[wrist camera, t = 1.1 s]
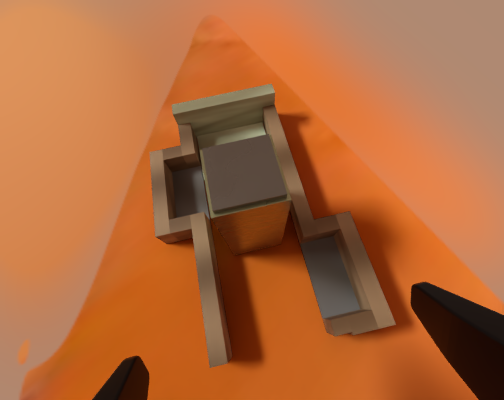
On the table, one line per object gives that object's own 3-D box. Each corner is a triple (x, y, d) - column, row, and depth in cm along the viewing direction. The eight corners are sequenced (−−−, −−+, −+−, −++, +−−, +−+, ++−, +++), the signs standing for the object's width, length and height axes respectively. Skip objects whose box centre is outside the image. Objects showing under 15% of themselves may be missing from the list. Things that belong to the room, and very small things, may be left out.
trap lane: (380, 322, 19) (407, 326, 15) (177, 372, 18) (155, 390, 15) (297, 107, 28) (301, 77, 24) (157, 137, 27) (140, 111, 23)
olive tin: (281, 244, 22) (292, 196, 12) (234, 255, 22) (209, 215, 12) (269, 201, 23) (271, 130, 14) (226, 211, 23) (197, 146, 14)
